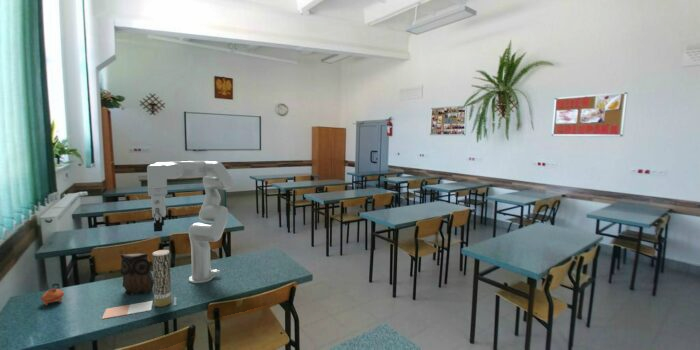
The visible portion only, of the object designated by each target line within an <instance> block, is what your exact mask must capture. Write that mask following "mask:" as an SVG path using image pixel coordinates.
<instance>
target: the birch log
mask: <svg viewBox="0 0 700 350" xmlns="http://www.w3.org/2000/svg"><path fill="white" fill-rule="evenodd" d="M151 255H152V271H153V273H152V277H153V280H154V284H153V297H154V301H153V302H154V306H155V307H158V308H160V307H166V306H168V305H170V303H171V302H172V289H171V288H172V287H171V283H172V282H171V260H170V259H171V258H170V257H171V256H170V255H171V254H170V250H169V249H159V250H156V251H153V252H152V254H151Z"/></svg>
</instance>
